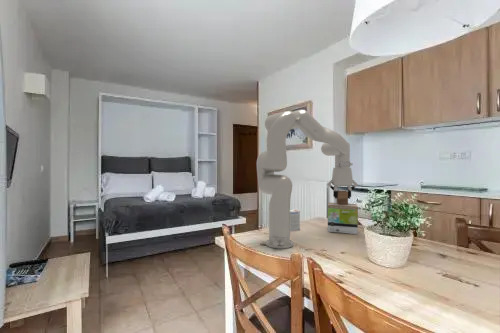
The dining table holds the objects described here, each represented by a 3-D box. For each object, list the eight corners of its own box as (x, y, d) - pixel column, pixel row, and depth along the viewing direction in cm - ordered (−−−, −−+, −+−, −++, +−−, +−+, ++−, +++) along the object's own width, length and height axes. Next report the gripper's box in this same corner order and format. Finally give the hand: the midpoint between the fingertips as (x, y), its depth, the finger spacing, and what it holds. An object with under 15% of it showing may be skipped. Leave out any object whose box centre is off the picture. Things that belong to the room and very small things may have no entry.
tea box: (327, 232, 139) (327, 204, 139) (327, 227, 149) (327, 202, 149) (358, 234, 135) (358, 206, 135) (356, 229, 145) (356, 203, 144)
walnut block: (348, 204, 139) (348, 191, 139) (338, 204, 140) (338, 191, 139) (345, 203, 144) (345, 190, 144) (336, 203, 144) (336, 190, 144)
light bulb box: (279, 227, 151) (279, 208, 151) (289, 225, 154) (289, 207, 154) (290, 231, 141) (290, 211, 141) (300, 230, 144) (300, 210, 144)
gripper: (357, 165, 144) (357, 197, 144) (324, 165, 146) (324, 197, 147) (361, 165, 136) (360, 199, 137) (326, 165, 139) (326, 199, 139)
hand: (342, 198), depth 142 cm, fingers open, 6 cm apart
